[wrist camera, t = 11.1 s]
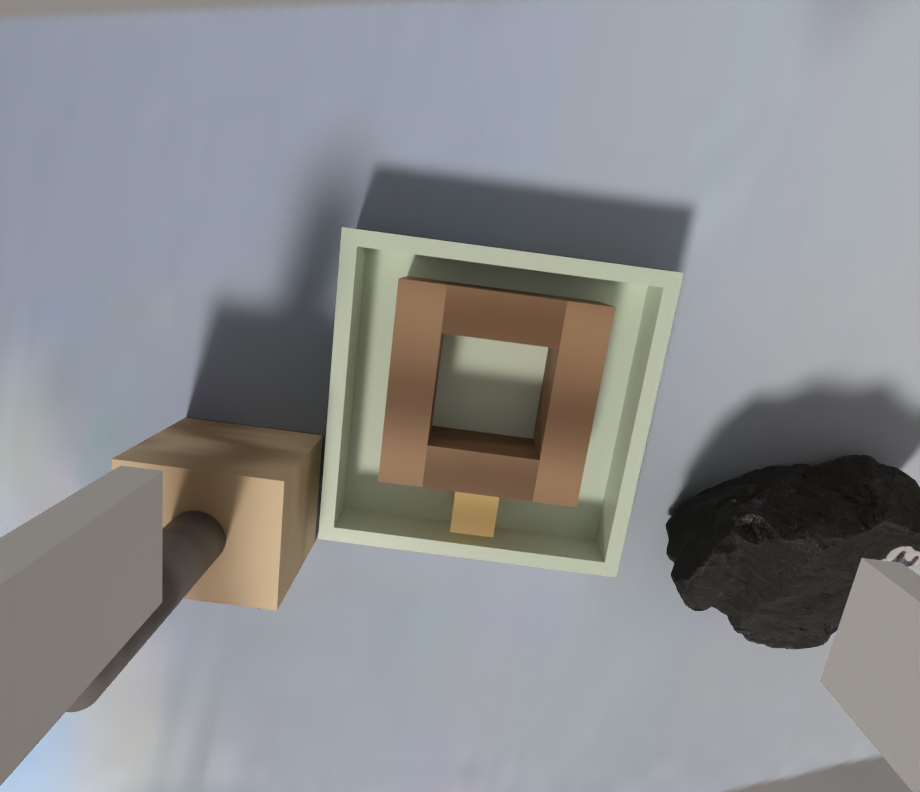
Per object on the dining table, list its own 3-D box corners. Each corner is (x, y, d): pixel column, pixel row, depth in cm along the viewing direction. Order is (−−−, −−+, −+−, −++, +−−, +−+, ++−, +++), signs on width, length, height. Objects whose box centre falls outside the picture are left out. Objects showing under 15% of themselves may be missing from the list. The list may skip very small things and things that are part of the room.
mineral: (761, 384, 28) (836, 418, 22) (902, 475, 29) (1008, 530, 23) (638, 543, 30) (677, 611, 24) (772, 622, 31) (840, 705, 25)
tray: (332, 512, 30) (318, 538, 27) (355, 230, 26) (341, 227, 23) (603, 548, 30) (616, 577, 27) (662, 271, 26) (684, 272, 23)
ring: (406, 275, 26) (398, 278, 23) (599, 301, 26) (615, 307, 23) (383, 495, 29) (374, 522, 26) (559, 517, 29) (568, 547, 26)
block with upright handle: (184, 524, 30) (-56, 747, 16) (185, 417, 28) (-77, 564, 15) (315, 541, 30) (184, 777, 16) (322, 435, 29) (186, 598, 15)
